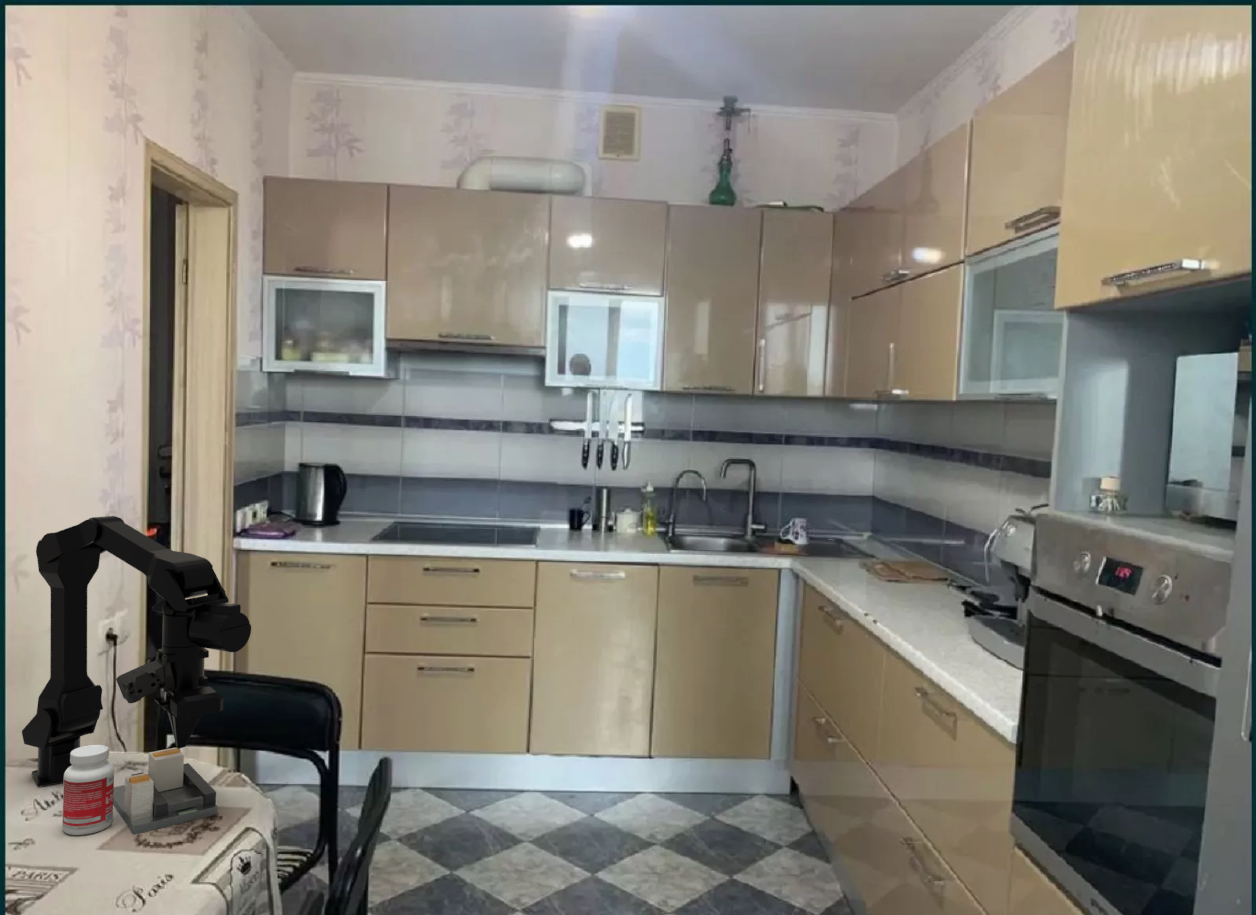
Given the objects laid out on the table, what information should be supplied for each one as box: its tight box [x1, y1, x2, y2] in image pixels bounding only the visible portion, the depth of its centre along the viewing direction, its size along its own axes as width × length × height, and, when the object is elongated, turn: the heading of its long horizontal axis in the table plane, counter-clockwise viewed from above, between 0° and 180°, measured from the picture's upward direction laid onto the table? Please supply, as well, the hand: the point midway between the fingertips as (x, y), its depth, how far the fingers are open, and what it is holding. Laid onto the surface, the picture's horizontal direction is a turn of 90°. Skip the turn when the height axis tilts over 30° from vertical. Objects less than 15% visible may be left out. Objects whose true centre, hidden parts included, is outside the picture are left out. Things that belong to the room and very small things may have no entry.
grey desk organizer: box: [113, 762, 219, 835], centre depth 134 cm, size 16×11×6 cm
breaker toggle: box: [147, 746, 185, 792], centre depth 137 cm, size 4×4×5 cm
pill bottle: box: [61, 744, 115, 836], centre depth 126 cm, size 6×6×11 cm
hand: (180, 746), depth 132 cm, fingers closed
